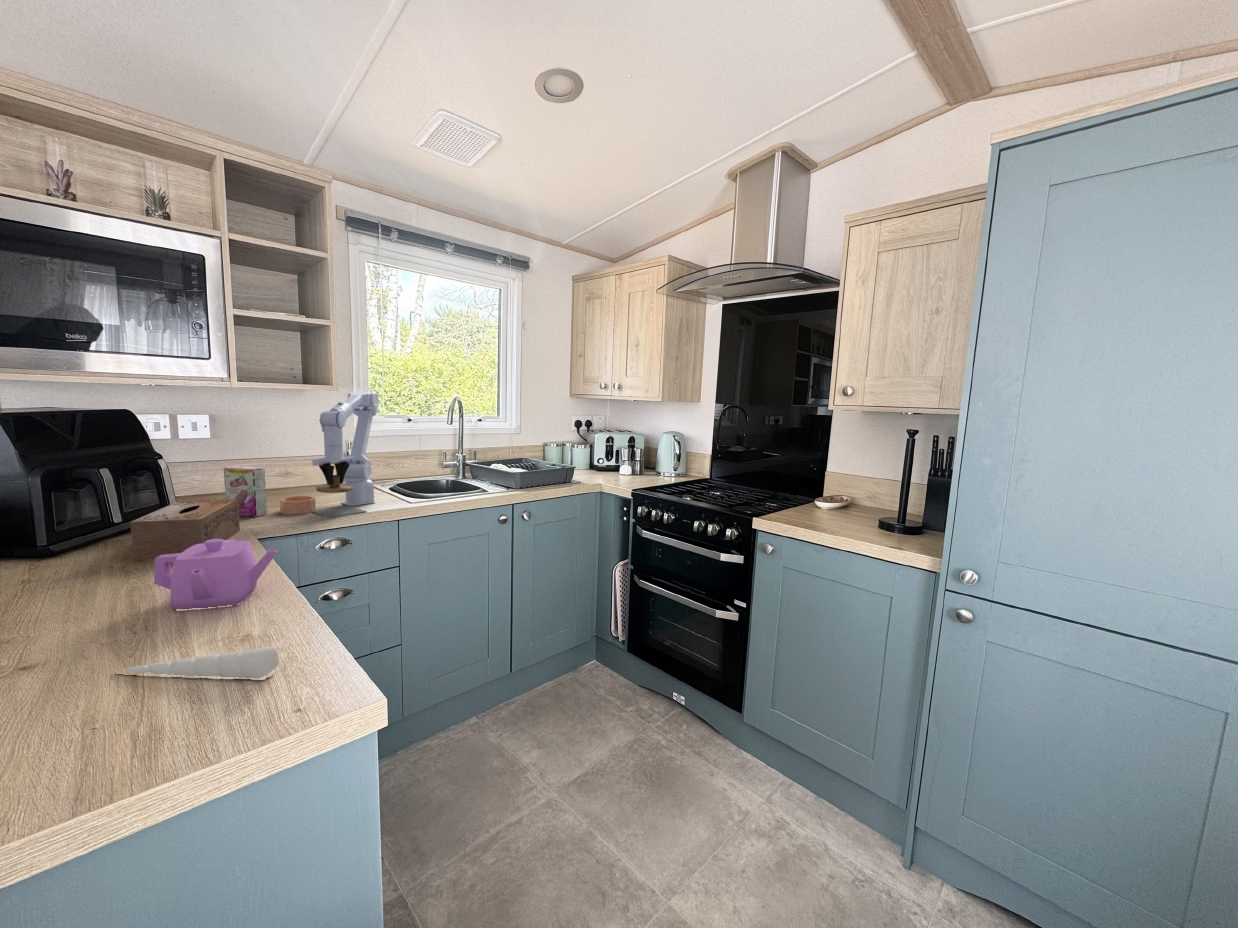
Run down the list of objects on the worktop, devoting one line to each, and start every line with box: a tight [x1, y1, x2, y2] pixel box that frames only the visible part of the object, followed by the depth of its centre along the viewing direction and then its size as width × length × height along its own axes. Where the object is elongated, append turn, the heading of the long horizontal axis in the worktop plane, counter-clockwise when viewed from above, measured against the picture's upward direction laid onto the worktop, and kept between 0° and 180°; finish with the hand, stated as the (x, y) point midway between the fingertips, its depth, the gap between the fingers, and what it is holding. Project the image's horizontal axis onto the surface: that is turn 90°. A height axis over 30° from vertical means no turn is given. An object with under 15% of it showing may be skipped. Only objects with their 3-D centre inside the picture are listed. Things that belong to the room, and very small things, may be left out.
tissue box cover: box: [129, 498, 241, 561], centre depth 143 cm, size 26×14×10 cm, turn 19°
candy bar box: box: [223, 465, 268, 518], centre depth 175 cm, size 11×5×16 cm, turn 84°
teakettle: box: [153, 539, 279, 610], centre depth 108 cm, size 17×17×12 cm
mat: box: [311, 505, 367, 519], centre depth 185 cm, size 13×13×1 cm
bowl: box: [279, 495, 317, 515], centre depth 184 cm, size 10×10×4 cm
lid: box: [315, 474, 353, 494], centre depth 183 cm, size 11×11×5 cm
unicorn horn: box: [121, 646, 280, 678], centre depth 80 cm, size 5×24×5 cm, turn 88°
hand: (335, 483), depth 183 cm, fingers closed on lid, 3 cm apart
